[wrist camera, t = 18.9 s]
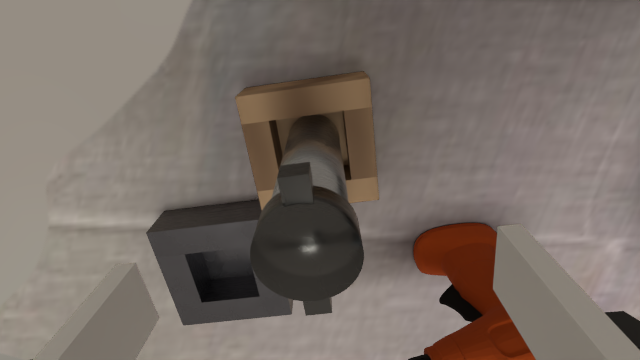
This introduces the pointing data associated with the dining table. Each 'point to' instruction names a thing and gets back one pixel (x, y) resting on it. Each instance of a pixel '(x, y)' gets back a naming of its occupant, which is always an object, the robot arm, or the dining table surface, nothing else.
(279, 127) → the wooden square frame
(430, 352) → the toy drill
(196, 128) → the dining table surface
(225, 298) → the block
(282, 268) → the dark grey tall piece
